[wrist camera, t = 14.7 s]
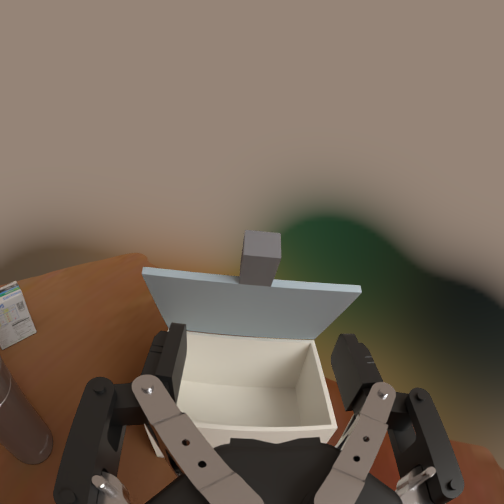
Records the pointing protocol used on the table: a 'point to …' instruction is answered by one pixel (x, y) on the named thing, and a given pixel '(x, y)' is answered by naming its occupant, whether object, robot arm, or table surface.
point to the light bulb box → (13, 316)
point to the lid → (249, 297)
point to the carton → (254, 390)
